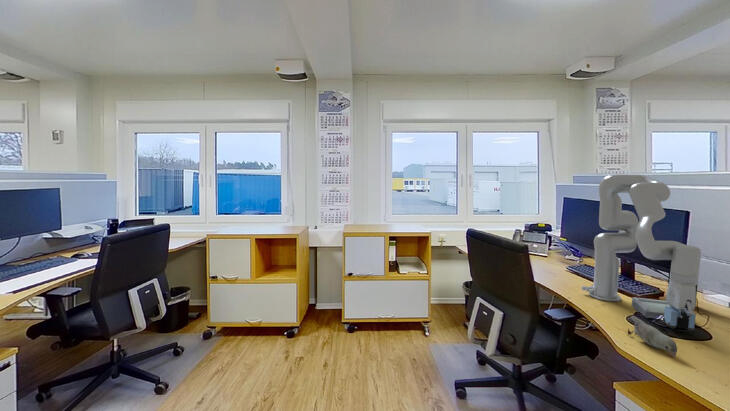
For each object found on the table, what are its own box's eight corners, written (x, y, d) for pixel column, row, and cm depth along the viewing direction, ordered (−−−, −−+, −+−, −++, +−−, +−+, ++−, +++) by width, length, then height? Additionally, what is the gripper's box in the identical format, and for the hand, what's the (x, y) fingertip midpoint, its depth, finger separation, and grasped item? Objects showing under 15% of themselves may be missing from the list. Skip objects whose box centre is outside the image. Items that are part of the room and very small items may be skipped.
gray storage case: (668, 328, 124) (670, 311, 123) (662, 322, 129) (664, 306, 128) (694, 331, 121) (696, 314, 121) (687, 325, 126) (689, 309, 125)
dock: (644, 318, 136) (645, 308, 136) (631, 306, 149) (632, 297, 149) (694, 324, 131) (695, 314, 130) (676, 311, 144) (677, 302, 143)
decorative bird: (667, 359, 106) (669, 336, 105) (623, 335, 122) (625, 315, 121) (682, 358, 106) (684, 336, 106) (637, 334, 122) (638, 315, 122)
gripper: (660, 270, 132) (655, 313, 134) (682, 284, 116) (677, 332, 118) (684, 272, 129) (678, 317, 131) (710, 287, 114) (704, 336, 116)
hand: (678, 324), depth 125 cm, fingers closed on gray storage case, 5 cm apart
